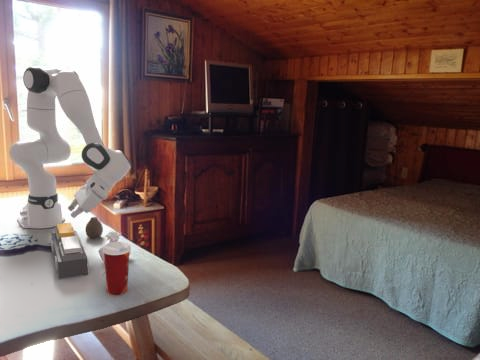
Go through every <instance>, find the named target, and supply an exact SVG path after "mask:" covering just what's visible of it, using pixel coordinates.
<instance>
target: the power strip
mask: <svg viewBox="0 0 480 360" xmlns="http://www.w3.org/2000/svg"><path fill="white" fill-rule="evenodd" d="M72 227H73V225H72ZM73 230H74V227H73ZM50 234H51V235H50V236H51V240H50V243H51V252H52V255H53V258H54V267H55V271H56V272H57V278H58V279H59V280H61V279H62V280H63V279H69V278H76V277H82V276H87V275H89V262H88V260H89V259H88V255H87V253H86V252H85V249H84V248H85V247H84V246H83V244H82V241H81V239H80V236H79V234H78V232H77V230H74V236H76V237H77V239H78V242H79V244H80V247H81V252H77V253H69V254H65V253H64V250H63V247H62V243H61V238H62V237H61V238H60V237H59V233H58V230H57V227H54V232H52V233H50ZM70 237H71V236H70Z"/></svg>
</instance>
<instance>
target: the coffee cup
mask: <svg viewBox="0 0 480 360" xmlns="http://www.w3.org/2000/svg"><path fill="white" fill-rule="evenodd" d="M120 242H121V243H120ZM104 245H105V246H104ZM104 245H103V246H104V249H103V253H104V259H105V262H104V269H105V284H106V292H107V294H109V295H111V296H120V295H124V294H125V293H127V290H128V281H129V279H128V278H129V265H130V263H129V262H130V255H129V252H130V250H131V251H132V248H131V249H130V247H129V245H130V244H129V243H128V242H125V241H118V242H112V243H109V242H108V243H107V244H104ZM130 253H131V252H130Z"/></svg>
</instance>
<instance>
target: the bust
mask: <svg viewBox="0 0 480 360" xmlns="http://www.w3.org/2000/svg"><path fill="white" fill-rule="evenodd" d="M121 236H122V232H118V231H117V232H116V231H114V230H113V231H112V230H111V231H109V232H108V233H107V234H106V235H105V238H107V241H108V243H112V242H120V243H121V242H122V241H119V240H120V237H121ZM105 245H106V244H104V245H103V246H101V247H100V248H99V249H98V253H99V254H98V255H99V256H100V259H101V261H102V262H104V263H105V259H104V253H103V249H104V246H105ZM129 247H130V249H131V250H130V252H129V256H130V255H131V251H132V247H131V244H129Z"/></svg>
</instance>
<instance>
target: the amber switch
mask: <svg viewBox="0 0 480 360" xmlns="http://www.w3.org/2000/svg"><path fill="white" fill-rule="evenodd" d="M72 226H73V225H72V222H64V223H63V222H62V223H60V224H57V226H56V228H57V230H58V233H59V237H60V238H61V237H70V236H74V231H75V230H73V229H74V227H72Z"/></svg>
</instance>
